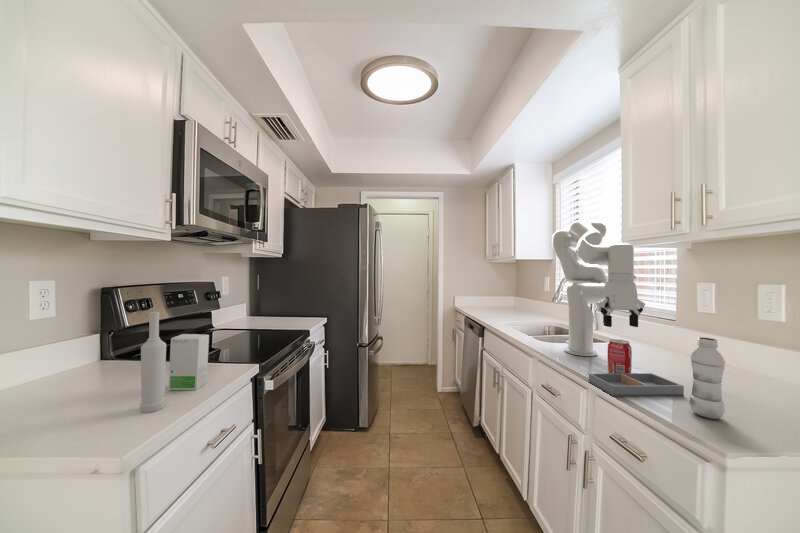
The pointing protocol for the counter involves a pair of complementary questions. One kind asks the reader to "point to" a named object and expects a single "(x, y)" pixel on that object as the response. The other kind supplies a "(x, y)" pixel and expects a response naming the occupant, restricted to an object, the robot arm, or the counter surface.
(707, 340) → the plastic bottle
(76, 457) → the counter surface
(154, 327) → the bottle
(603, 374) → the grey divided tray
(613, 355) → the soda can
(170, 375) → the skincare box
